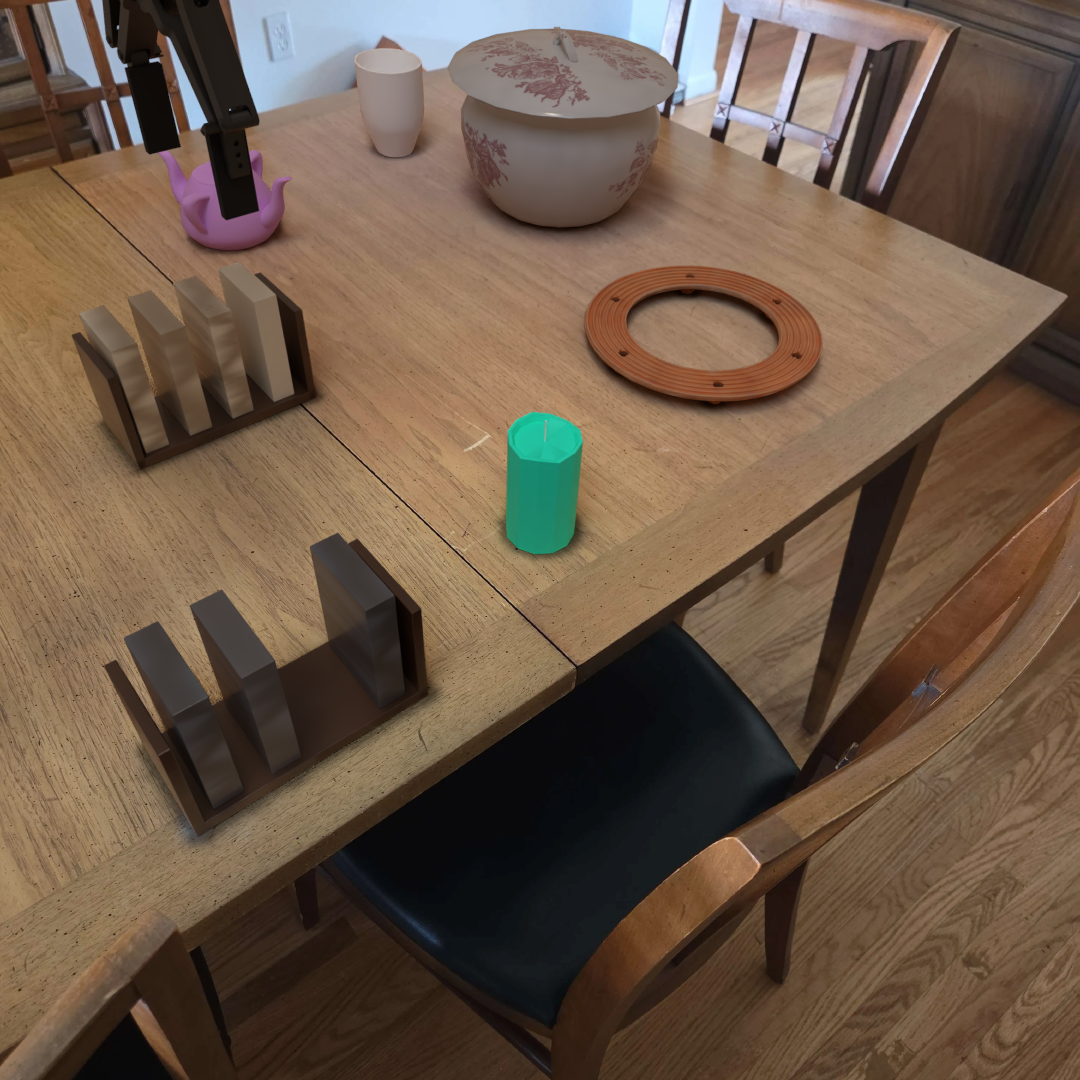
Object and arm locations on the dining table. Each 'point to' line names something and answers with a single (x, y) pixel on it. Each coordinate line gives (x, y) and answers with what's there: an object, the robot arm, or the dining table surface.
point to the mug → (391, 98)
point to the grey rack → (275, 687)
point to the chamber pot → (560, 120)
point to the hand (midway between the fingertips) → (200, 180)
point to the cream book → (257, 330)
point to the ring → (757, 380)
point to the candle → (542, 482)
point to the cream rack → (183, 371)
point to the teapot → (204, 208)
